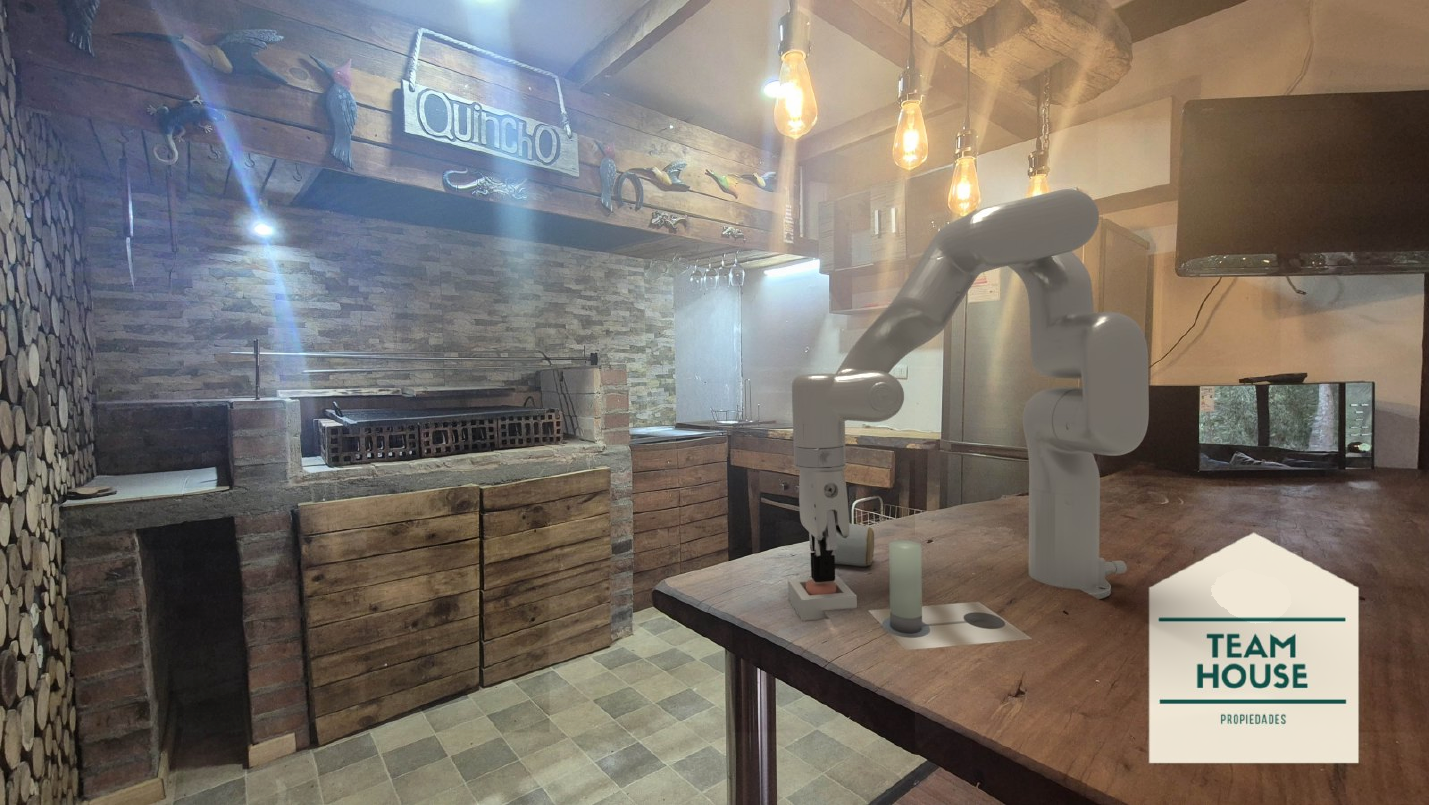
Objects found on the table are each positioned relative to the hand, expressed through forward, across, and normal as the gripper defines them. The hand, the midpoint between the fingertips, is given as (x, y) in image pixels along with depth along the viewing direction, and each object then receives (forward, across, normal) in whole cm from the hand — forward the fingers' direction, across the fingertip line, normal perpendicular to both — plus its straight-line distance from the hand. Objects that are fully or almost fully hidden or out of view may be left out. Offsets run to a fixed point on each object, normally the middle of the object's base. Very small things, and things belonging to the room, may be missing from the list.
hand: (823, 579), depth 84 cm
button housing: (+4, 0, 0) cm, 4 cm away
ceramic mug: (+5, +19, -11) cm, 22 cm away
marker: (+3, -11, -8) cm, 14 cm away
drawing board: (+4, -11, -13) cm, 18 cm away
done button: (+3, 0, 0) cm, 3 cm away
